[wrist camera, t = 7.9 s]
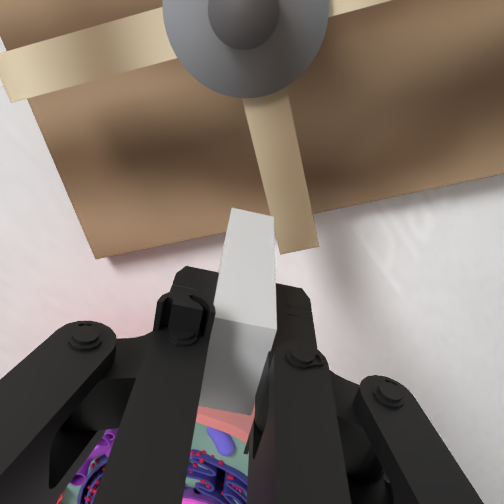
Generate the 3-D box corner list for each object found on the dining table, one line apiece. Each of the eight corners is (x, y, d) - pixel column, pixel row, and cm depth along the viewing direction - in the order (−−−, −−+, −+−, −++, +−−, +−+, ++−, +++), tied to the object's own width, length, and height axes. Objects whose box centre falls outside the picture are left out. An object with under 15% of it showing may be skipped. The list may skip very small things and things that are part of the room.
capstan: (109, 271, 25) (83, 312, 21) (-101, -223, 17) (-200, -288, 13) (541, 180, 22) (592, 210, 19) (550, -471, 14) (646, -639, 10)
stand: (-77, -178, 21) (-154, -223, 17) (502, -384, 17) (567, -495, 14) (101, 250, 29) (77, 284, 26) (508, 164, 26) (548, 188, 22)
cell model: (98, 241, 29) (6, 360, 19) (347, 395, 34) (381, 556, 24) (-9, 407, 35) (-121, 563, 25) (214, 517, 40) (195, 687, 30)
